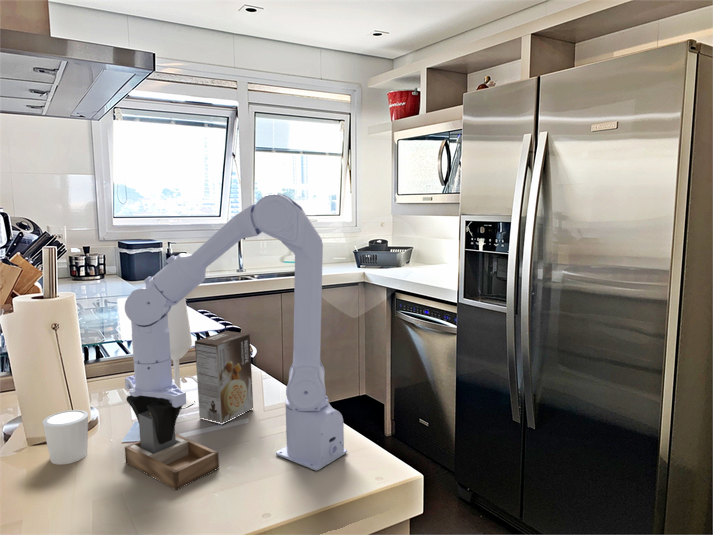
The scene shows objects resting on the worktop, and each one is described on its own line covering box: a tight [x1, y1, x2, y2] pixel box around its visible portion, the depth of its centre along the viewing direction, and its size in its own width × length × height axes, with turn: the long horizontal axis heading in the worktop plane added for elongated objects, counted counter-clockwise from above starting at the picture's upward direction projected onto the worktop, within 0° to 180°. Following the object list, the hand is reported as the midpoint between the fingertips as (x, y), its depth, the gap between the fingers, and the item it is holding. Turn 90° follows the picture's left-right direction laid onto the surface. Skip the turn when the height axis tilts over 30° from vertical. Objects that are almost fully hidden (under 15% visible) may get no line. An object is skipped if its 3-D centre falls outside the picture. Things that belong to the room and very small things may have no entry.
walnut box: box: [124, 433, 220, 491], centre depth 90 cm, size 14×8×3 cm, turn 52°
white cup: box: [42, 409, 89, 465], centre depth 93 cm, size 7×7×7 cm
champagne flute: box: [167, 297, 195, 407], centre depth 114 cm, size 7×7×24 cm
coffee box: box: [194, 330, 254, 423], centre depth 109 cm, size 9×6×16 cm
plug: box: [138, 410, 176, 454], centre depth 91 cm, size 4×4×8 cm
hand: (157, 437), depth 92 cm, fingers closed on plug, 4 cm apart
